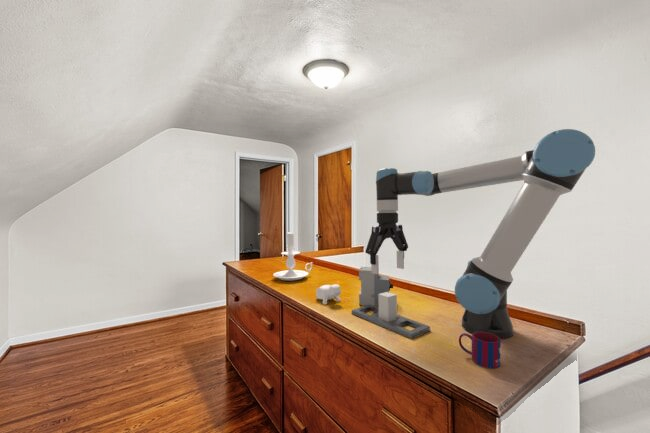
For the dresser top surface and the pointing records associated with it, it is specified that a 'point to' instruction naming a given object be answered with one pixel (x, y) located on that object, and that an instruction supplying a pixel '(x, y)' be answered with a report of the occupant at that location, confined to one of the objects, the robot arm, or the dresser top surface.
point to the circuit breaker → (372, 286)
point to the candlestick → (291, 263)
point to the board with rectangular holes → (392, 322)
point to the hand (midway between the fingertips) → (388, 270)
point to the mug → (484, 349)
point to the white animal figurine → (328, 293)
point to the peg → (387, 306)
